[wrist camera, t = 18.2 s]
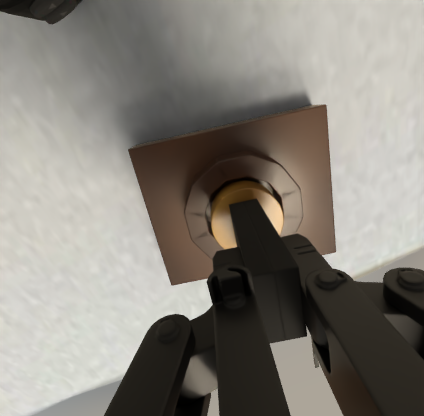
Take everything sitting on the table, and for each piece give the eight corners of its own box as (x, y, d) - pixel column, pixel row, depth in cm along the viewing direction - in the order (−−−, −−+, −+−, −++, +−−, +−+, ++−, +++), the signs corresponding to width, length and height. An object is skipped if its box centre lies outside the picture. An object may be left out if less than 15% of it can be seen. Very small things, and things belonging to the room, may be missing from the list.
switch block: (174, 269, 22) (168, 302, 18) (136, 145, 18) (118, 154, 14) (323, 238, 21) (349, 266, 17) (312, 104, 18) (342, 103, 14)
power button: (217, 247, 17) (219, 262, 16) (203, 188, 16) (203, 197, 14) (279, 234, 17) (288, 247, 15) (271, 173, 16) (279, 180, 14)
